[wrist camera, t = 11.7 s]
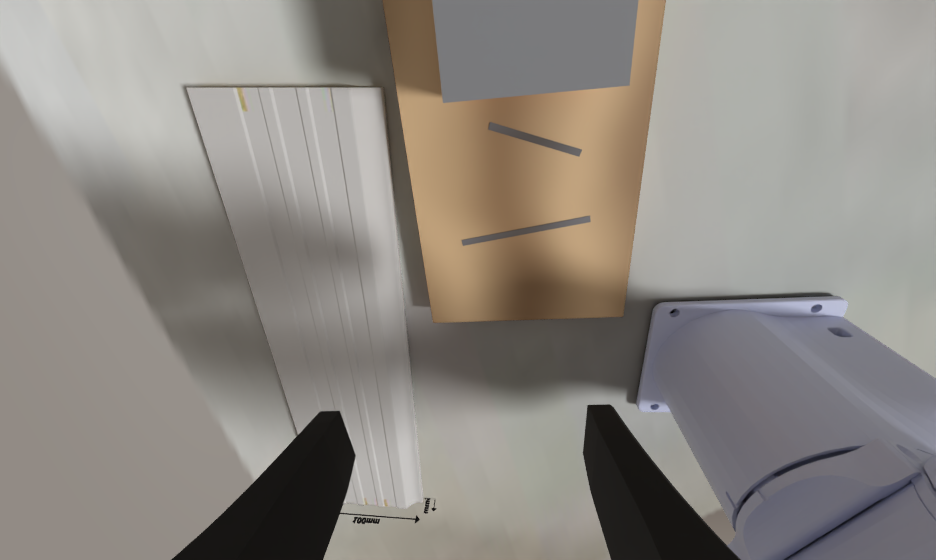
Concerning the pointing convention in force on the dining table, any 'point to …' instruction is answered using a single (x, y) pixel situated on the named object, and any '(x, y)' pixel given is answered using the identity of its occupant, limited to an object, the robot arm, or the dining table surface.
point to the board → (523, 182)
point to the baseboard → (324, 264)
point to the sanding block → (532, 46)
